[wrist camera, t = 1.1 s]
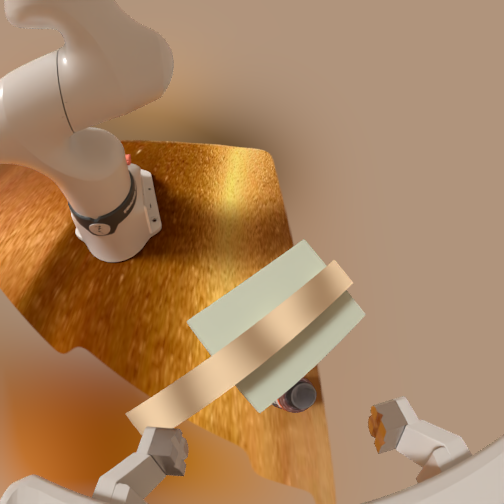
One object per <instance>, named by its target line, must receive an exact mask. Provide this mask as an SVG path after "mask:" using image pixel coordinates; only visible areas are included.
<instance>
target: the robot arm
mask: <svg viewBox="0 0 504 504" xmlns="http://www.w3.org/2000/svg"><path fill="white" fill-rule="evenodd" d="M4 3H5V15H6V17H7V20H8V21H9V22H10V23H11V24H12V25H14V26H16V27H19V28H29V29H55V30H58V31H59V32H60V33H61V34H62V36H63V38H64V41H65V44H64V46H63V47H61V48H59V50H56V51H53V52H51V53H49V54H46V55H44V56H42V57H39V58H37V59H35V60H33V61H31V62H29V63H27V64H25V65H23V66H21V67H19V68H17V69H15V70H13V71H11V72H9V73H8V74H7V75H5V76H4V77H3V78H1V79H0V164H16V165H21V166H25V167H28V168H31V169H34V170H36V171H38V172H40V173H42V174H44V175H46V176H47V177H49V178H50V179H52V180H53V181H54V182H55V183H56V184H57V185H58V187H59V188H60V190H61V191H62V193H63V194H64V195H65V197H66V198H67V200H68V205H69V208H70V210H71V216H72V219H73V221H74V223H75V225H76V230H75V233H76V235H77V237H78V238H79V239H81V240H82V241H84V242H85V243H86V245H87V247H88V248H89V250H90V252H91V253H92V254H93V255H94V256H95V257H97V258H98V259H100V260H103V261H106V262H120V261H124V260H127V259H129V258H131V257H133V256H134V255H136V254H137V253H138V252H139V251H140V250H141V249H142V248H143V247H144V245H145V244H146V243H147V241H148V240H149V239H150V237H152V236H153V235H155V234H156V233H158V232H159V231H160V230H161V228H162V223H161V219H160V214H159V210H158V205H157V200H156V195H155V190H154V185H153V179H152V175H151V173H150V172H148V171H145V170H142V169H140V167H139V166H137V165H135V164H131V156H130V154H128V155H125V152H124V148H123V146H122V144H121V142H120V141H119V140H118V139H117V138H116V137H115V136H114V135H112V134H111V133H110V132H108V131H106V130H103V129H99V128H91V126H93V125H96V124H99V123H102V122H104V121H107V120H110V119H113V118H116V117H120V116H123V115H126V114H128V113H130V112H132V111H134V110H136V109H138V108H141V107H143V106H145V105H147V104H149V103H151V102H153V101H155V100H157V99H159V98H161V97H162V95H163V94H164V92H165V91H166V89H167V87H168V85H169V83H170V81H171V78H172V74H173V63H174V62H173V55H172V51H171V49H170V47H169V45H168V43H167V42H166V40H165V39H164V38H163V37H162V36H161V35H160V34H159V33H158V32H156V31H155V30H153V29H151V28H148V27H146V26H144V25H142V24H140V23H138V22H137V21H135V20H134V19H132V18H131V17H130V16H129V15H127V14H126V13H125V12H124V11H123V10H122V9H121V8H120V7H119V5H118V4H117V3H116V1H115V0H4ZM154 220H156V222H153V221H154ZM371 414H372V415H371V416H370V417H369V420H368V428H369V431H370V434H371V436H372V437H374V438H375V441H374V444H375V447H376V449H377V452H378V454H380V453H383V452H387V451H390V450H393V449H396V450H398V451H399V452H400V453H402V454H403V455H405V456H406V457H408V458H409V459H411V460H412V461H413V462H415V463H416V464H418V465H420V466H421V467H423V469H422V470H421V471H420V473H419V474H418V476H417V477H416V480H417V482H418V484H416V485H414V486H411V487H408V488H406V489H403V490H401V491H398V492H396V493H393V494H390V495H387V496H384V497H381V498H378V499H375V500H372V501H369V502H365V503H362V504H504V435H502V436H501V437H500V438H498V439H497V440H495V441H494V442H492V443H491V444H489V445H488V446H486V447H485V448H483V449H482V450H480V451H479V452H477V453H476V454H474V455H472V454H471V452H470V451H469V449H468V448H467V446H466V444H465V442H464V441H463V439H462V438H461V436H458V435H456V434H454V433H451V432H449V431H447V430H444V429H442V428H440V427H437V426H435V425H433V424H431V423H429V422H427V421H424V420H419V419H418V417H417V415H416V414H415V412H414V410H413V409H412V407H411V405H410V404H409V402H408V401H407V399H406V397H404V396H402V397H399V398H396V399H394V400H389V401H386V402H383V403H380V404H377V405H373V406H372V407H371ZM187 457H188V444H187V441H186V439H185V438H183V437H182V432H181V430H180V429H174V428H161V427H149V426H147V427H146V428H145V430H144V433H143V435H142V439H141V441H140V444H139V447H138V450H137V453H133V454H131V455H130V456H129V457H127V458H126V459H125V460H123V461H122V462H121V463H119V464H118V465H116V466H115V467H114V468H112V469H111V470H109V471H108V472H107V473H105V474H104V475H102V476H101V477H100V478H99V481H98V484H97V486H96V488H95V491H94V493H93V496H92V498H91V497H88V496H85V495H83V494H80V493H77V492H74V491H72V490H69V489H67V488H65V487H62V486H60V485H57V484H55V483H53V482H50V481H48V480H46V479H44V478H42V477H40V476H38V475H30V476H27V477H25V478H22V479H20V480H18V481H16V482H14V483H12V484H11V485H10V486H9V487H8V488H7V490H6V491H5V493H4V494H3V496H2V498H1V499H0V504H148V503H147V502H146V501H145V500H143V499H144V498H145V497H146V496H147V495H148V494H149V493H150V492H151V491H152V490H153V489H154V488H155V487H156V486H157V485H158V484H159V483H160V482H161V481H162V480H163V479H164V477H166V475H174V476H184V473H185V468H186V464H185V462H184V460H185V459H186V458H187Z"/></svg>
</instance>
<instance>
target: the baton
mask: <svg viewBox="0 0 504 504" xmlns="http://www.w3.org/2000/svg"><path fill="white" fill-rule="evenodd" d="M352 284H353V282H352V281H351V279H350V278H349V277H348V276H347V275H346V273H345V272H344V271H343V269H342V268H341V267H340V266H339V265H338V263H337V262H336V261H335V260H333V261H332V262H331V263H330V264H329V265H327V266H326V267H325V268H324V269H323V270H322V271H320V272H319V273H318V274H317V275H316V276H314V277H313V278H312V279H311V280H310V281H308V282H307V283H306V284H305V285H304V286H302V287H301V288H300V289H299V290H297V291H296V292H295V293H294V294H292V295H291V296H290V297H289V298H287V299H286V300H285V301H284V302H282V303H281V304H280V305H279V306H277V307H276V308H275V309H274V310H272V311H271V312H270V313H269V314H267V315H266V316H265V317H263V318H262V319H261V320H260V321H258V322H257V323H256V324H254V325H253V326H252V327H250V328H249V329H248V330H246V331H245V332H244V333H242V334H241V335H240V336H238V337H237V338H236V339H234V340H233V341H232V342H230V343H229V344H228V345H226V346H225V347H224V348H222V349H221V350H219V351H218V352H217V353H215V354H214V355H212V356H211V357H210V358H208V359H207V360H205V361H204V362H203V363H201V364H200V365H198V366H197V367H196V368H194V369H193V370H191V371H190V372H188V373H187V374H185V375H184V376H183V377H181V378H180V379H178V380H177V381H175V382H174V383H172V384H171V385H169V386H168V387H166V388H165V389H163V390H162V391H160V392H159V393H157V394H156V395H154V396H153V397H151V398H150V399H148V400H147V401H145V402H143V403H142V404H140V405H139V406H137V407H136V408H134V409H133V410H131V411H130V412H128V413H126V415H127V417H128V418H129V419H130V421H131V422H132V423H133V425H134V426H135V427H136V428H137V430H138V431H139V432H140V434H141V435H143V433H144V430H145V428H146V427H147V426H149V427H161V428H174V427H176V426H177V425H179V424H180V423H182V422H183V421H185V420H186V419H188V418H189V417H191V416H192V415H194V414H195V413H197V412H198V411H200V410H201V409H203V408H204V407H205V406H207V405H208V404H210V403H211V402H212V401H214V400H215V399H217V398H218V397H219V396H221V395H222V394H224V393H225V392H226V391H228V390H229V389H230V388H232V387H233V386H234V385H236V384H237V383H238V382H240V381H241V380H242V379H244V378H245V377H246V376H248V375H249V374H250V373H251V372H253V371H254V370H255V369H257V368H258V367H259V366H260V365H262V364H263V363H264V362H265V361H267V360H268V359H269V358H270V357H271V356H273V355H274V354H275V353H276V352H278V351H279V350H280V349H281V348H282V347H284V346H285V345H286V344H287V343H288V342H289V341H291V340H292V339H293V338H294V337H295V336H296V335H298V334H299V333H300V332H301V331H302V330H303V329H304V328H306V327H307V326H308V325H309V324H310V323H311V322H312V321H313V320H315V319H316V318H317V317H318V316H319V315H320V314H321V313H322V312H323V311H324V310H326V309H327V308H328V307H329V306H330V305H331V304H332V303H333V302H334V301H335V300H336V299H337V298H338V297H339V296H340V295H341V294H342V293H344V292H345V291H346V290H347V289H348V288H349V287H350V286H351V285H352Z"/></svg>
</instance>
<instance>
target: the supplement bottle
mask: <svg viewBox="0 0 504 504" xmlns="http://www.w3.org/2000/svg"><path fill="white" fill-rule="evenodd" d="M315 400H316V390H315V388H314V387H313V385H312V383H311V382H310V381H309V380H308V379H306V378H301V379H300V380H299V381H298V382H297V383H296V384H295V385H294V386H292V387H291V388H290V389H289V390H288V391H287V392H285V393H284V394H283V395H282V396H281V397H279V398H278V399H277V400H276V401H275V402H273V403H272V405H274V406H275V407H278V408H281V409H283V410H286V411H288V412H293V413H298V412H302V411H304V410H306V409H307V408H309V407H310V406H311V405H313V403H314V402H315Z"/></svg>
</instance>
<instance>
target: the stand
mask: <svg viewBox="0 0 504 504" xmlns="http://www.w3.org/2000/svg"><path fill="white" fill-rule="evenodd" d="M325 267H326V264H325V263H324V262H323V261H322V260H321V258H320V257H319V256H318V255H317V254H316V252H315V251H314V250H313V249H312V248H311V246H310V245H309V244H308V243H307V242H306V241H305V239H303V240H302V241H300V242H299V243H298V244H296V245H295V246H293V247H292V248H291V249H289V250H288V251H286V252H285V253H284V254H282V255H281V256H279V257H278V258H277V259H275V260H274V261H272V262H271V263H270V264H268V265H267V266H265V267H264V268H263V269H261V270H260V271H258V272H257V273H256V274H254V275H253V276H251V277H250V278H248V279H247V280H246V281H244V282H243V283H241V284H240V285H238V286H237V287H236V288H234V289H233V290H231V291H230V292H228V293H227V294H226V295H224V296H223V297H221V298H220V299H218V300H217V301H215V302H214V303H213V304H211V305H210V306H208V307H207V308H205V309H204V310H202V311H201V312H199V313H198V314H197V315H195V316H194V317H192V318H191V319H189V320H188V321H187V324H188V325H189V326H190V328H191V329H192V331H193V332H194V333H195V335H196V336H197V337H198V339H199V340H200V341H201V343H202V344H203V345H204V347H205V348H206V349H207V351H208V352H209V353H210V355H211V356H212V355H214V354H215V353H217V352H218V351H219V350H221V349H222V348H224V347H225V346H226V345H228V344H229V343H230V342H232V341H233V340H234V339H236V338H237V337H238V336H240V335H241V334H242V333H244V332H245V331H246V330H248V329H249V328H250V327H252V326H253V325H254V324H256V323H257V322H258V321H260V320H261V319H262V318H263V317H265V316H266V315H267V314H269V313H270V312H271V311H272V310H274V309H275V308H276V307H277V306H279V305H280V304H281V303H282V302H284V301H285V300H286V299H287V298H289V297H290V296H291V295H292V294H294V293H295V292H296V291H297V290H299V289H300V288H301V287H302V286H304V285H305V284H306V283H307V282H308V281H310V280H311V279H312V278H313V277H314V276H316V275H317V274H318V273H319V272H320V271H322V270H323V269H324V268H325ZM364 316H365V313H364V312H363V310H362V309H361V308H360V307H359V305H358V304H357V303H356V302H355V300H354V299H353V298H352V297H351V295H350V294H349V293H348V291H347V290H346V291H345V292H344V293H342V294H341V295H340V296H339V297H338V298H337V299H336V300H335V301H334V302H333V303H332V304H331V305H330V306H329V307H328V308H327V309H326V310H324V311H323V312H322V313H321V314H320V315H319V316H318V317H317V318H316V319H315V320H313V321H312V322H311V323H310V324H309V325H308V326H307V327H306V328H304V329H303V330H302V331H301V332H300V333H299V334H298V335H296V336H295V337H294V338H293V339H292V340H291V341H289V342H288V343H287V344H286V345H285V346H284V347H282V348H281V349H280V350H279V351H278V352H276V353H275V354H274V355H273V356H271V357H270V358H269V359H268V360H267V361H265V362H264V363H263V364H262V365H260V366H259V367H258V368H257V369H255V370H254V371H253V372H251V373H250V374H249V375H248V376H246V377H245V378H244V379H242V380H241V381H240V382H238V383H237V384H236V385H235V386H236V387H237V388H238V389H239V391H240V392H241V393H242V394H243V395H244V396H245V398H246V399H247V400H248V401H249V402H250V403H251V405H252V406H253V407H254V408H255V409H256V410H257V411H258V412H259V413H261V412H262V411H264V410H265V409H266V408H267V407H269V406H270V405H271V404H272V403H273V402H275V401H276V400H277V399H278V398H279V397H281V396H282V395H283V394H284V393H285V392H287V391H288V390H289V389H290V388H291V387H292V386H294V385H295V384H296V383H297V382H298V381H299V380H300V379H301V378H303V377H304V376H305V375H306V374H307V373H308V372H309V371H310V370H311V369H312V368H314V367H315V366H316V365H317V364H318V363H319V362H320V361H321V360H322V359H323V358H324V357H325V356H326V355H327V354H328V353H329V352H330V351H331V350H332V349H333V348H334V347H335V346H336V345H337V344H338V343H339V342H340V341H341V340H342V339H343V338H344V337H345V336H346V335H347V334H348V333H349V332H350V331H351V330H352V329H353V328H354V327H355V326H356V325H357V323H358V322H359V321H360V320H361V319H362V318H363V317H364Z"/></svg>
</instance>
